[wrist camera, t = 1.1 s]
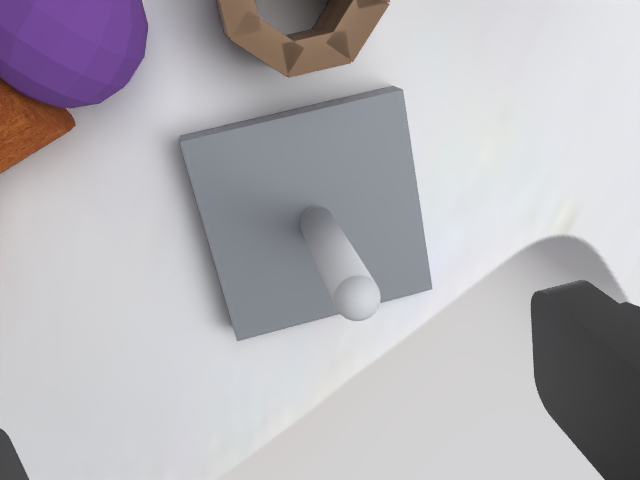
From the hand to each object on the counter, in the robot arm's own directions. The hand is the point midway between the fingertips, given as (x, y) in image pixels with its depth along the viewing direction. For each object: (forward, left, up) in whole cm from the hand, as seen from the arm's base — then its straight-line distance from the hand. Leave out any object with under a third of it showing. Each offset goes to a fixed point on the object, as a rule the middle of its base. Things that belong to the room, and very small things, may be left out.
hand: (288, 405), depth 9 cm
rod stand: (+4, +3, -20) cm, 21 cm away
